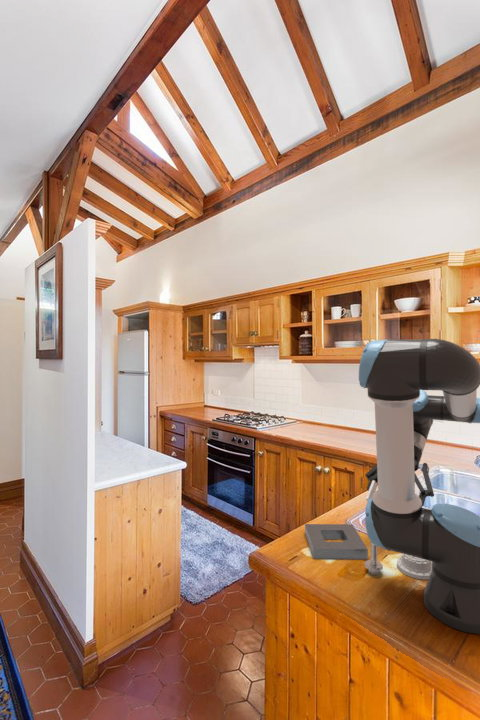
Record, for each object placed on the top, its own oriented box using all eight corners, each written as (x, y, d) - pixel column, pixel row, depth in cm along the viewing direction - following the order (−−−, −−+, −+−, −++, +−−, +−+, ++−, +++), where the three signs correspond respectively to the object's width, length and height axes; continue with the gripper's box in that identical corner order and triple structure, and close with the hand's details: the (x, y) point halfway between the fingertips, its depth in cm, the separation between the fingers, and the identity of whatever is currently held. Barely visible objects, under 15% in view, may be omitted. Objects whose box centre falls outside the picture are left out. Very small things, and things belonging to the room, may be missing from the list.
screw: (384, 571, 103) (380, 579, 99) (367, 565, 105) (362, 573, 101) (385, 524, 103) (380, 531, 99) (367, 520, 105) (362, 527, 101)
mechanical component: (404, 556, 111) (390, 570, 104) (404, 541, 111) (391, 554, 104) (441, 570, 104) (428, 585, 97) (441, 554, 104) (428, 569, 96)
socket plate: (367, 559, 109) (367, 549, 109) (313, 558, 109) (313, 548, 109) (352, 533, 125) (352, 524, 125) (304, 532, 125) (304, 524, 125)
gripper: (455, 462, 112) (438, 527, 102) (377, 448, 130) (355, 501, 120) (450, 448, 108) (431, 514, 98) (369, 435, 126) (347, 489, 116)
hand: (389, 507), depth 109 cm, fingers open, 13 cm apart
